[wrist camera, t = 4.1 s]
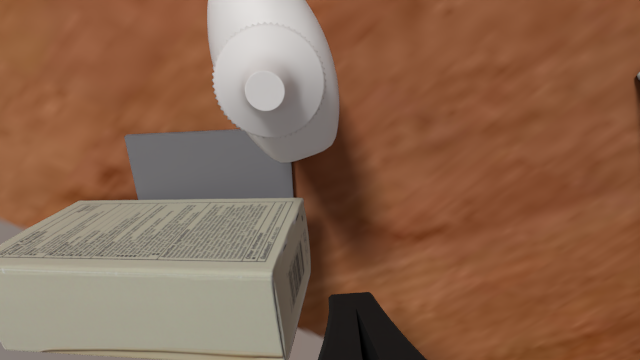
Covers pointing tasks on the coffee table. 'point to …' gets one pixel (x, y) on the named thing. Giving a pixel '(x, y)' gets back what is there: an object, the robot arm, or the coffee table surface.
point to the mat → (205, 166)
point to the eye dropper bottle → (274, 75)
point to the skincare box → (158, 279)
